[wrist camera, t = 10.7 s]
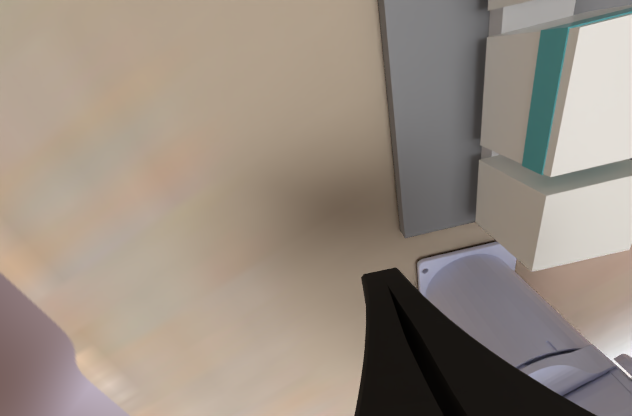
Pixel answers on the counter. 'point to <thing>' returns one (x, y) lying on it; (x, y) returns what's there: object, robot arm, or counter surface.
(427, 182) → the mounting plate
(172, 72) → the counter surface
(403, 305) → the robot arm
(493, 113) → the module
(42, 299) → the counter surface
